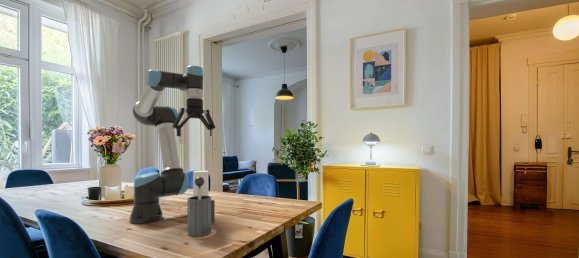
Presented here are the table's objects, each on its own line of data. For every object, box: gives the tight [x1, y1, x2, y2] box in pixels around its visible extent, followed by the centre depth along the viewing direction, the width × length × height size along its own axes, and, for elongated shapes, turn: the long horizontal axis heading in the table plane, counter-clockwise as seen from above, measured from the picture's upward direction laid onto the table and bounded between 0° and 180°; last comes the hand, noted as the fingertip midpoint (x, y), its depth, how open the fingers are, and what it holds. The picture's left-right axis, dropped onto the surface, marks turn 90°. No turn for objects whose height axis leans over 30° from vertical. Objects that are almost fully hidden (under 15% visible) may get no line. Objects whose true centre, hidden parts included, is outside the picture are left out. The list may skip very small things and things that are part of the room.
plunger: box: [195, 177, 204, 200], centre depth 121 cm, size 6×6×19 cm
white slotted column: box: [192, 170, 209, 197], centre depth 139 cm, size 7×7×25 cm
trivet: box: [181, 228, 218, 240], centre depth 120 cm, size 14×14×1 cm
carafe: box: [186, 195, 216, 237], centre depth 121 cm, size 10×12×15 cm
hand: (194, 143), depth 134 cm, fingers open, 13 cm apart
